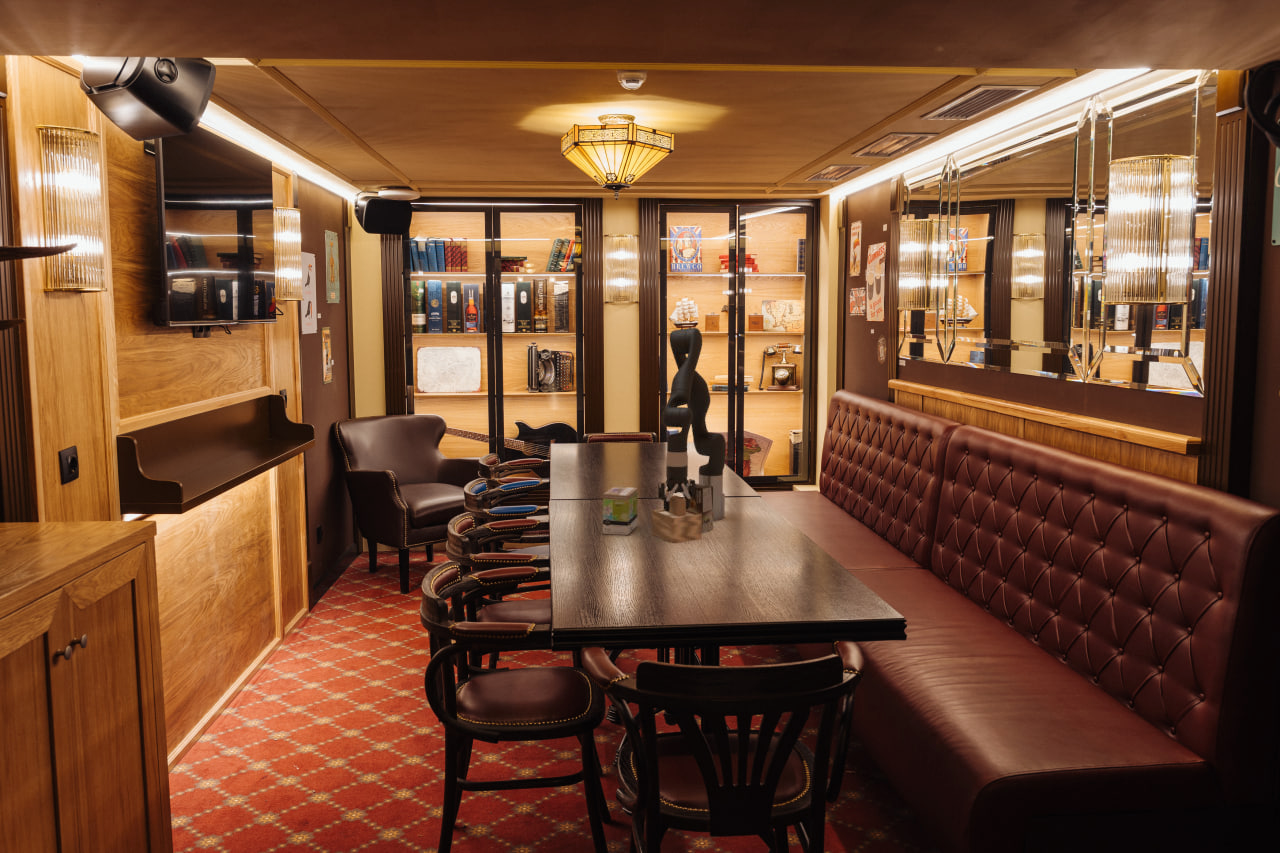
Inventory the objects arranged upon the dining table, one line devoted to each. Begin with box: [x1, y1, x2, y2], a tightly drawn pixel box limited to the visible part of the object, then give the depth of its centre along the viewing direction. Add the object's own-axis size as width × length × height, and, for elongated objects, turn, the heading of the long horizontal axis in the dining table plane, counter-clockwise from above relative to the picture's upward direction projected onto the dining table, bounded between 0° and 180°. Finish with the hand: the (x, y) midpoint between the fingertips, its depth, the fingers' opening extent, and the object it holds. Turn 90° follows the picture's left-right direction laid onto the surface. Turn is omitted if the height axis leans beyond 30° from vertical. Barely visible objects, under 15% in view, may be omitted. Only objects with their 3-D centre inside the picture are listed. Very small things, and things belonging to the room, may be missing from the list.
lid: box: [659, 494, 694, 518], centre depth 311 cm, size 10×12×7 cm
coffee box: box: [686, 482, 714, 533], centre depth 323 cm, size 9×6×16 cm
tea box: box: [602, 486, 639, 536], centre depth 321 cm, size 15×10×15 cm, turn 168°
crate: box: [651, 508, 703, 544], centre depth 312 cm, size 12×14×9 cm
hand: (676, 510), depth 311 cm, fingers open, 7 cm apart
